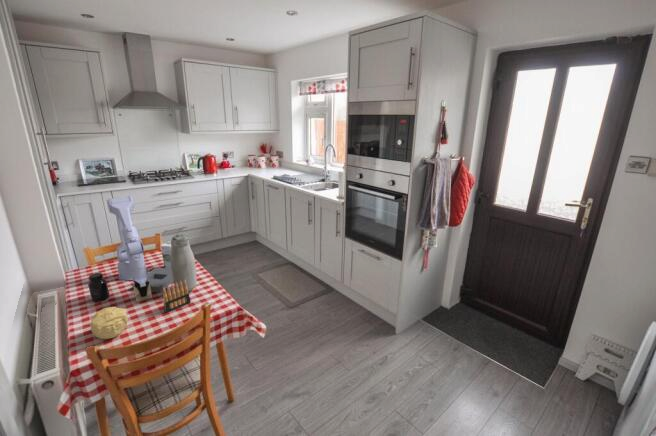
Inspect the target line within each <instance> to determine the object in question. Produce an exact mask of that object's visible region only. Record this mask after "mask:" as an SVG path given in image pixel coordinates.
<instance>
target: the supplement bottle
mask: <svg viewBox="0 0 656 436" xmlns="http://www.w3.org/2000/svg"><path fill="white" fill-rule="evenodd" d="M88 278H89V282H88V283H87V285H88V289H89V293H90V294H89V295H90V299H91V301H92V302H93V303H102V302H104V301H106V300H108V299H109V298H110V297H111V296H110V290H109V286H108V281H107V279H106V278H105V277H104V276H103V273H102V272H95V273H92V274H89V276H88Z"/></svg>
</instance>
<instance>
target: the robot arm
mask: <svg viewBox="0 0 656 436" xmlns="http://www.w3.org/2000/svg"><path fill="white" fill-rule="evenodd" d="M106 203H107V207H108V211H109V213H110V214H112V215H115V216H116V220H117V225H118V226H117V227H118V231H119V236H120V240H121V243H120V244H119V245H118V246H117V247H116V255H117V260H118V263H117V268H116V269H117V272H118V277H119V278H118V279H117V280H123V281H133V284H134V283H135V284H134V285H135V287H136V288H137V289H138V291H139V293H140V295H141V297H145V296H147V288H148V285H149V281H147V282H145V281H146V279H147V277H148V276H150V273H149V272H147V268H146V261H145V256H144V253H145V246H144V243H143V241H142V239H141V238H140V236H139V233H138V229H137V227H136V226H134V225H133V221H132V215H131V213H132V212H133V211H134V208H135V205H134V199H133V197H132V196H131V195H128V196H122V197H115V198H107V199H106Z"/></svg>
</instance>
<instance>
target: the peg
mask: <svg viewBox="0 0 656 436" xmlns="http://www.w3.org/2000/svg"><path fill="white" fill-rule="evenodd" d="M145 282H147V281H145ZM132 285H133V287H134V290H133V291H134V296H135V300H136V302H137V303H138V302H143V301H145V300H149V299H152V298H153V295H152V292H151V289H150V284H149V285H148V288H147V296H145V297H141V295H140V293H139V291H138V289H137V288H136V287H135V285H134V283H132ZM133 287H132V288H133Z"/></svg>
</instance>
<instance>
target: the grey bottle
mask: <svg viewBox="0 0 656 436" xmlns="http://www.w3.org/2000/svg"><path fill="white" fill-rule="evenodd" d="M170 242H171V259H170V261H171V269H172V274H173V280H174V281H173V285H175V284H176V282H177V284H178V287H179V291H180V286H179V283H180V281H181V282H182V285H183V289H184V279H185V281H186V284H187V288H188V292H191V291H193V290H194V288H196V286H197V281H198V278H197V277H198V276H197V268H196V260H195V255H194V253H193V251H192V248H191V244H190V241H189V238H188V237H187V235H186V234H179V233H178V234H176V235H174V236H173V237H171V240H170Z"/></svg>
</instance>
